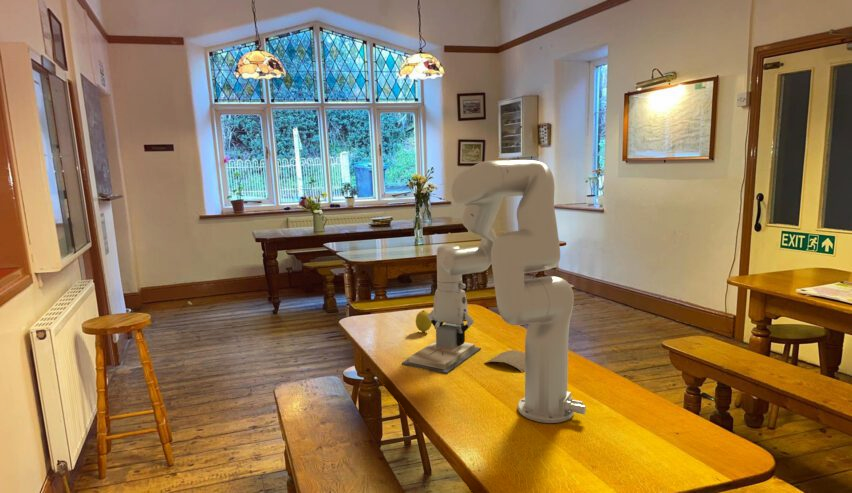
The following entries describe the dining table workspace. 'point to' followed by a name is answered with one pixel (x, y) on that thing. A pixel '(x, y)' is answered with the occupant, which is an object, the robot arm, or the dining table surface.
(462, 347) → the board
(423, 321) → the lemon
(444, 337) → the block
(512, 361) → the clay tablet
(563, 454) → the dining table surface
